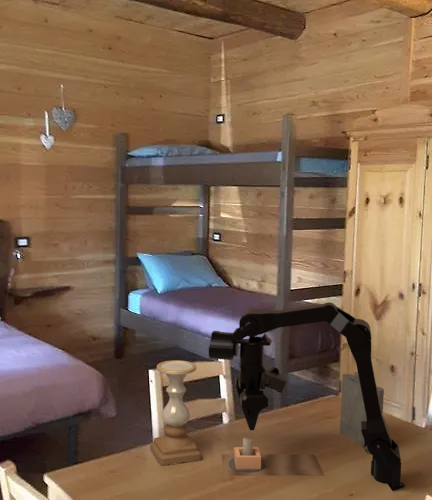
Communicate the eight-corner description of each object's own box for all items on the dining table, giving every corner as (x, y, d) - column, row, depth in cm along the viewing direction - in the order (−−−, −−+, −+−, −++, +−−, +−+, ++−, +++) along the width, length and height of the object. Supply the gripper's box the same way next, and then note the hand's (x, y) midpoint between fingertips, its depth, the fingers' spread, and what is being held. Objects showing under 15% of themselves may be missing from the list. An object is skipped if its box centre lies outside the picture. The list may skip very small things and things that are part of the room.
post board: (314, 459, 171) (315, 430, 171) (324, 481, 160) (325, 449, 159) (221, 460, 170) (222, 429, 169) (224, 481, 158) (225, 449, 157)
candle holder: (149, 449, 176) (150, 361, 173) (188, 444, 180) (190, 358, 177) (160, 466, 166) (161, 373, 163) (202, 460, 170) (203, 369, 167)
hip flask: (383, 453, 176) (386, 380, 174) (370, 456, 174) (374, 382, 172) (346, 432, 190) (349, 364, 188) (335, 434, 189) (337, 366, 187)
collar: (257, 458, 167) (258, 447, 167) (260, 469, 161) (261, 457, 161) (234, 458, 167) (234, 447, 167) (236, 469, 161) (236, 457, 161)
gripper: (290, 372, 153) (288, 437, 155) (278, 351, 172) (276, 409, 174) (242, 372, 153) (241, 437, 154) (235, 351, 171) (234, 409, 173)
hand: (249, 423), depth 164 cm, fingers open, 9 cm apart
